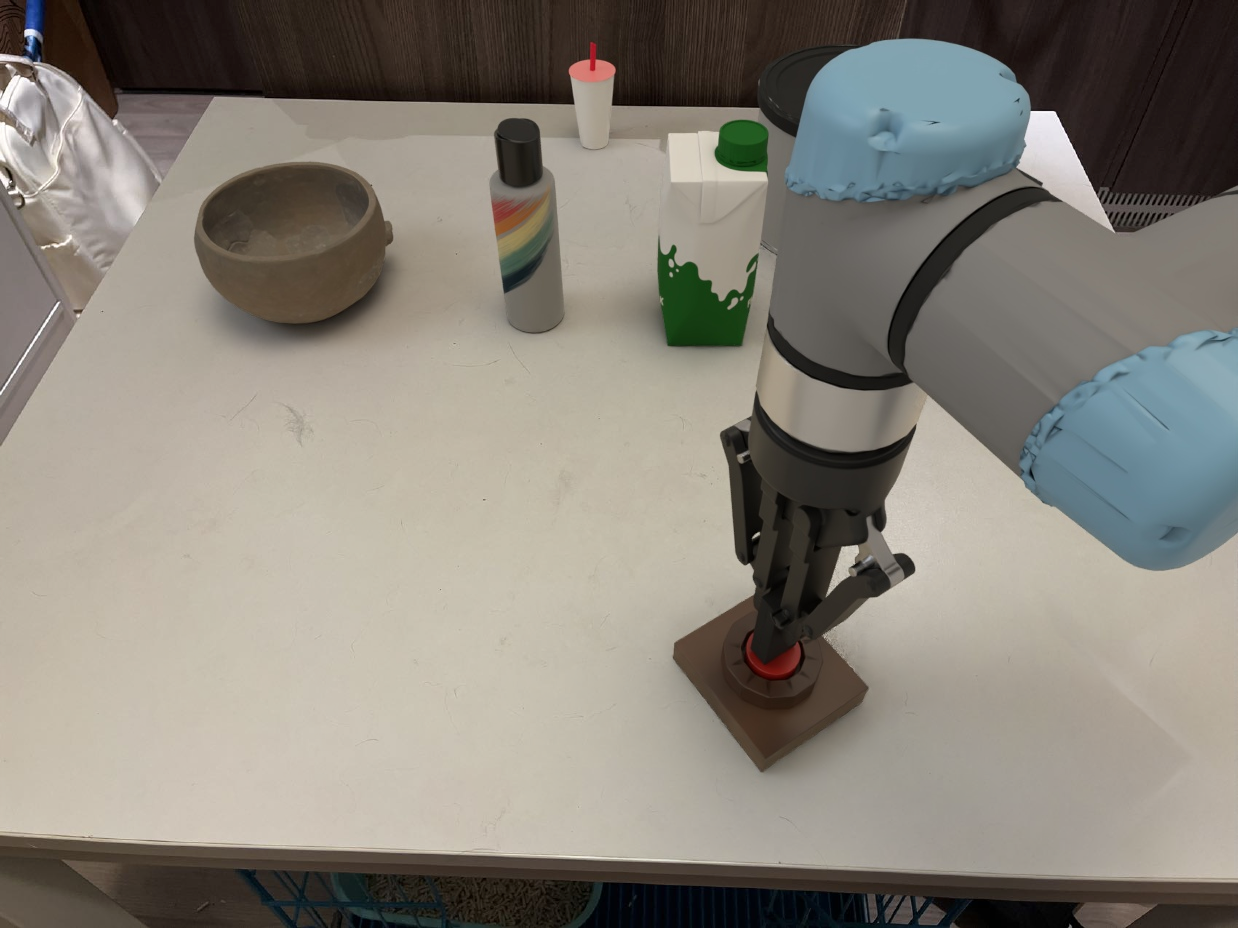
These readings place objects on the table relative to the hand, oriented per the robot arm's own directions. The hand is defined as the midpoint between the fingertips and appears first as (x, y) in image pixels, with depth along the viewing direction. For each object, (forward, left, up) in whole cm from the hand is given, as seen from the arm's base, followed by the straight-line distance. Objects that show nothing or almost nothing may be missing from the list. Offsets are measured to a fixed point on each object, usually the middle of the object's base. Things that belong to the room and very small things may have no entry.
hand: (773, 646), depth 59 cm
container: (+39, -41, -5) cm, 57 cm away
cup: (+67, -28, -5) cm, 73 cm away
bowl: (+59, +11, -5) cm, 60 cm away
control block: (0, 0, -5) cm, 5 cm away
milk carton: (+33, -19, -5) cm, 38 cm away
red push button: (0, 0, -2) cm, 2 cm away
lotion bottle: (+43, -6, -5) cm, 44 cm away
